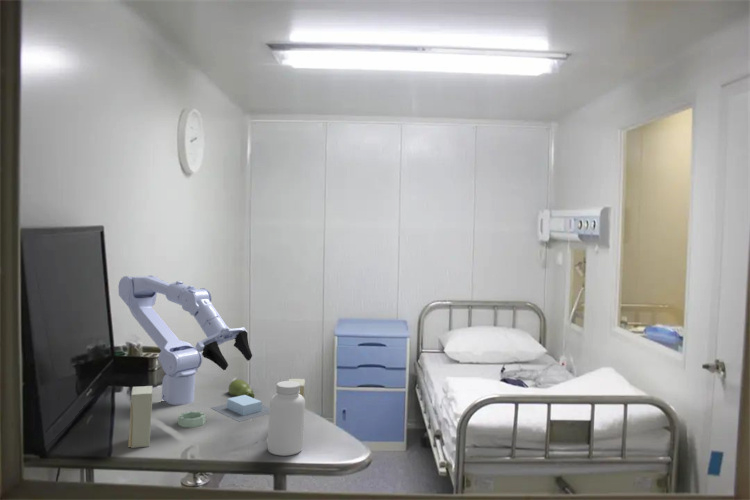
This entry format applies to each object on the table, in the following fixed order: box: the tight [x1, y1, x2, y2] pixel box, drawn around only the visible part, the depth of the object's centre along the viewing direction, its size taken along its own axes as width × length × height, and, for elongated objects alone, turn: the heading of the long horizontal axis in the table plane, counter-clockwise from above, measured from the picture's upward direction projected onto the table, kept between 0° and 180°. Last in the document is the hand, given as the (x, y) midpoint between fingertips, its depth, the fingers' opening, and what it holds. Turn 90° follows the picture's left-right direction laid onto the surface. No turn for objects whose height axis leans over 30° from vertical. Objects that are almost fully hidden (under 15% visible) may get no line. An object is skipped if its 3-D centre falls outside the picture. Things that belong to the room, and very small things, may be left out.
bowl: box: [177, 410, 207, 428], centre depth 121 cm, size 6×6×3 cm
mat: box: [210, 403, 270, 423], centre depth 132 cm, size 14×12×1 cm
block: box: [226, 395, 263, 416], centre depth 132 cm, size 8×6×3 cm
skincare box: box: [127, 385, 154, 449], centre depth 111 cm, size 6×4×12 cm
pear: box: [228, 379, 255, 399], centre depth 146 cm, size 6×5×10 cm
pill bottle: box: [267, 380, 306, 457], centre depth 111 cm, size 8×8×15 cm
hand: (238, 362), depth 127 cm, fingers open, 7 cm apart
